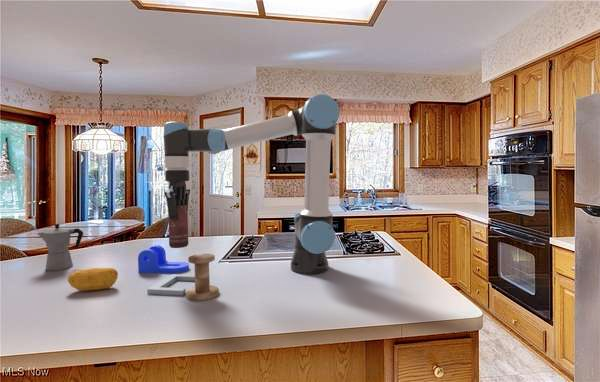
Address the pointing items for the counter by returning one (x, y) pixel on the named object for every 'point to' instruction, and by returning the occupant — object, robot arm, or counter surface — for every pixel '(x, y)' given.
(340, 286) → the counter surface
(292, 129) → the robot arm
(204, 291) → the bobbin
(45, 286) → the counter surface
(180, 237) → the can
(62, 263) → the coffeepot
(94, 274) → the potato
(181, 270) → the bracket
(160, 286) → the grey u-shaped frame
